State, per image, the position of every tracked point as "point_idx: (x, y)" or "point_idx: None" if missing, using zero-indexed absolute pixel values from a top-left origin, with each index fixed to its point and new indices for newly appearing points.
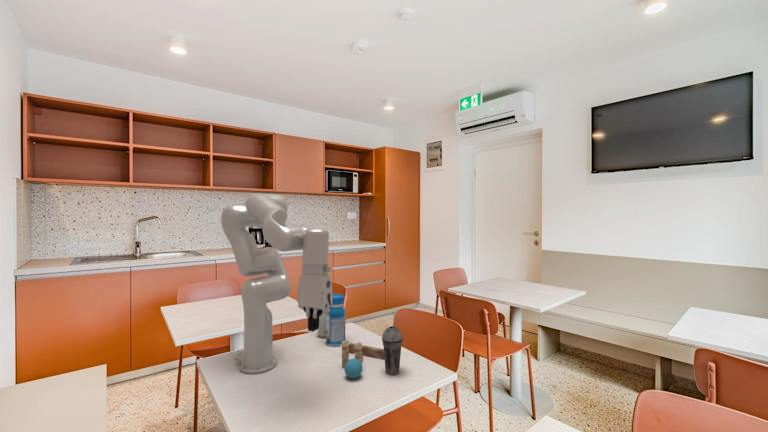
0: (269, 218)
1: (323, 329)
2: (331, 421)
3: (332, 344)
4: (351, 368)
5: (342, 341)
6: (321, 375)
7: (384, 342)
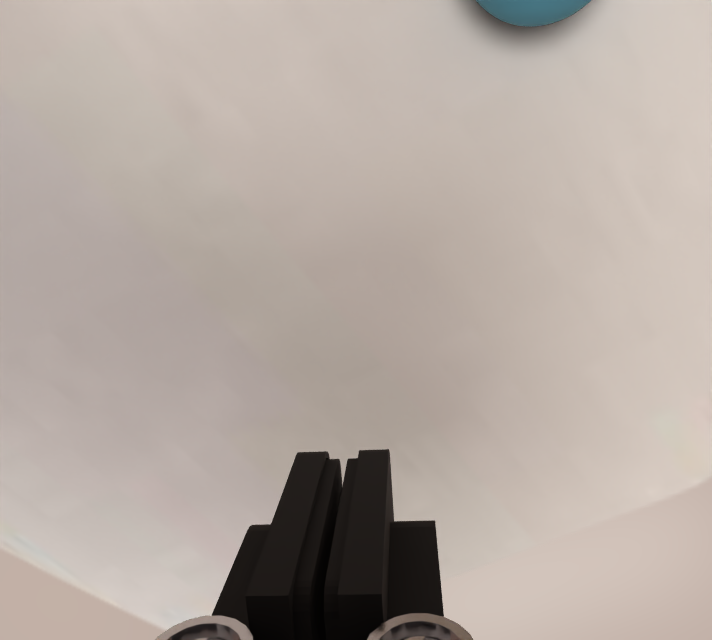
0: None
1: None
2: (654, 470)
3: None
4: (565, 5)
5: None
6: (288, 65)
7: None
